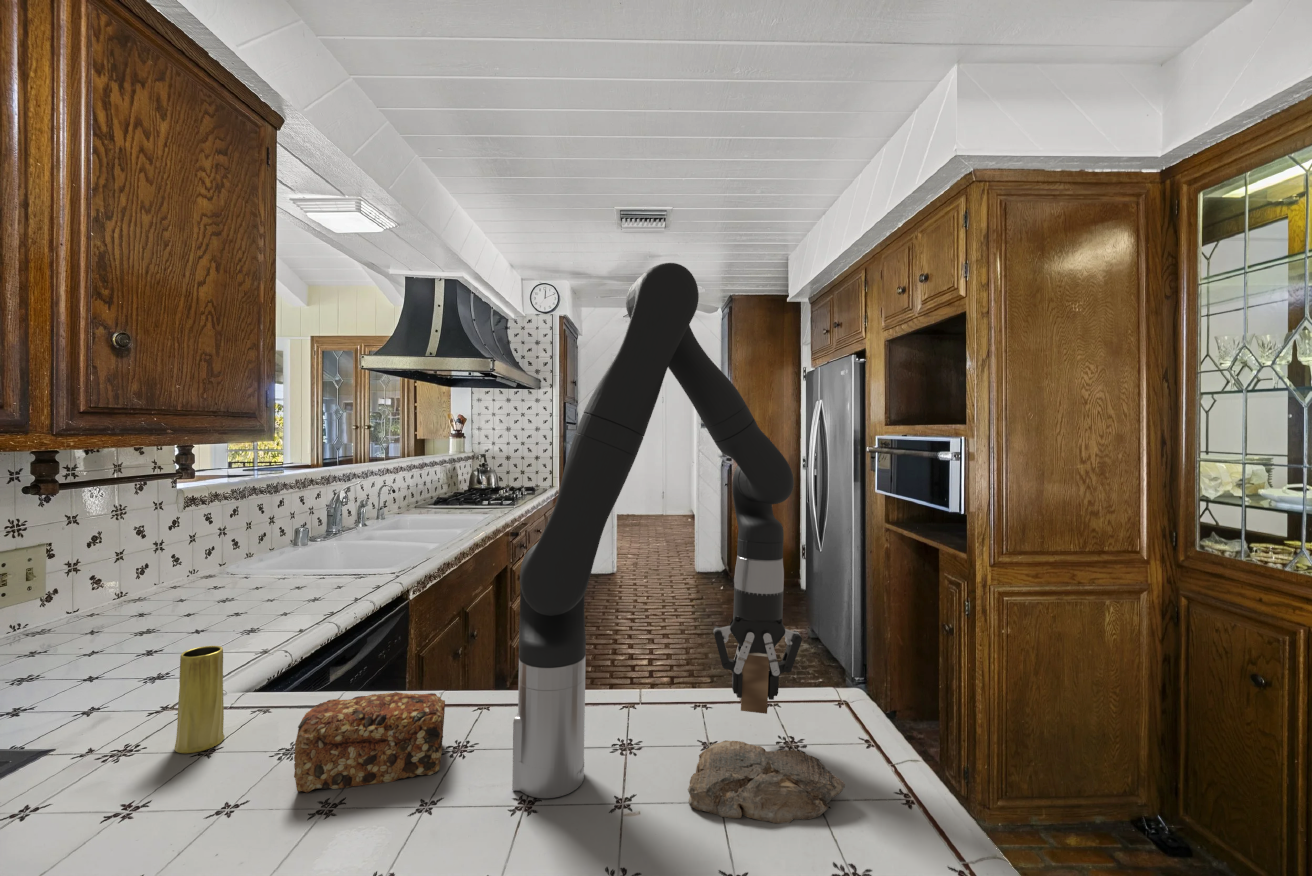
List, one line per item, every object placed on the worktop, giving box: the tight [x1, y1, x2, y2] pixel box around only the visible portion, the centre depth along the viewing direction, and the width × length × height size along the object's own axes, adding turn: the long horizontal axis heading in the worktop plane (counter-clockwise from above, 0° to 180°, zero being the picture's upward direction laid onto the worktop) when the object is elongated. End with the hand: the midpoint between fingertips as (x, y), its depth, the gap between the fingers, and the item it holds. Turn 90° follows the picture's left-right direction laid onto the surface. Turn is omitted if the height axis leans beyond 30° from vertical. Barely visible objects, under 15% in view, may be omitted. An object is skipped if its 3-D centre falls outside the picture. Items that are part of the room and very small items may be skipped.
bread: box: [293, 691, 446, 794], centre depth 85 cm, size 19×11×10 cm, turn 107°
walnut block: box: [740, 652, 770, 715], centre depth 93 cm, size 4×6×9 cm, turn 170°
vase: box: [174, 645, 225, 755], centre depth 91 cm, size 6×6×14 cm
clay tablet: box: [687, 740, 846, 824], centre depth 80 cm, size 14×5×20 cm
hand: (754, 696), depth 91 cm, fingers closed on walnut block, 4 cm apart
